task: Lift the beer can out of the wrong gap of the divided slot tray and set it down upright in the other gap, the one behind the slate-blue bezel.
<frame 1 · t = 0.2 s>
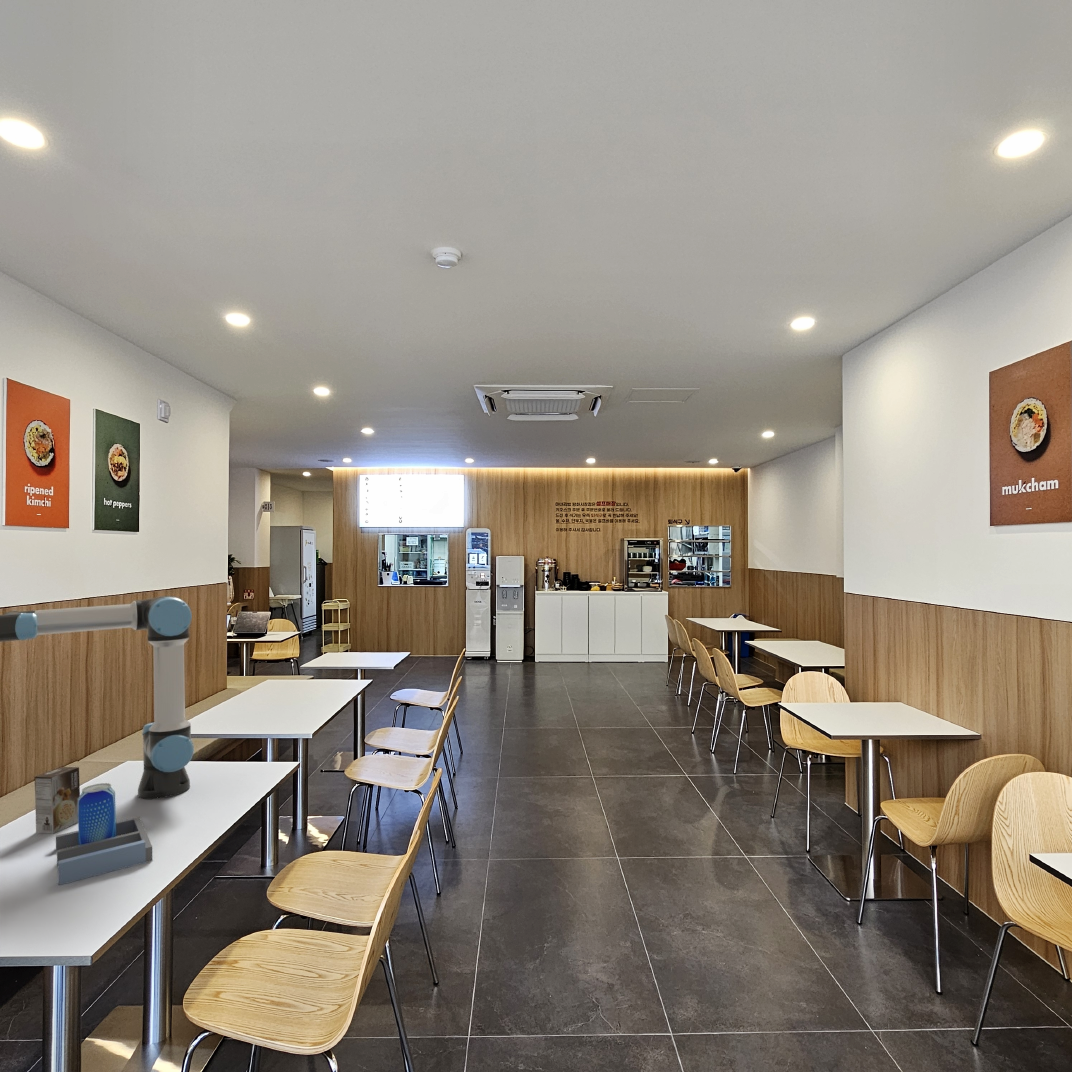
coffee box: (58, 827, 196), on the table
divided slot tray: (99, 854, 176), on the table
beer can: (97, 848, 181), resting in divided slot tray
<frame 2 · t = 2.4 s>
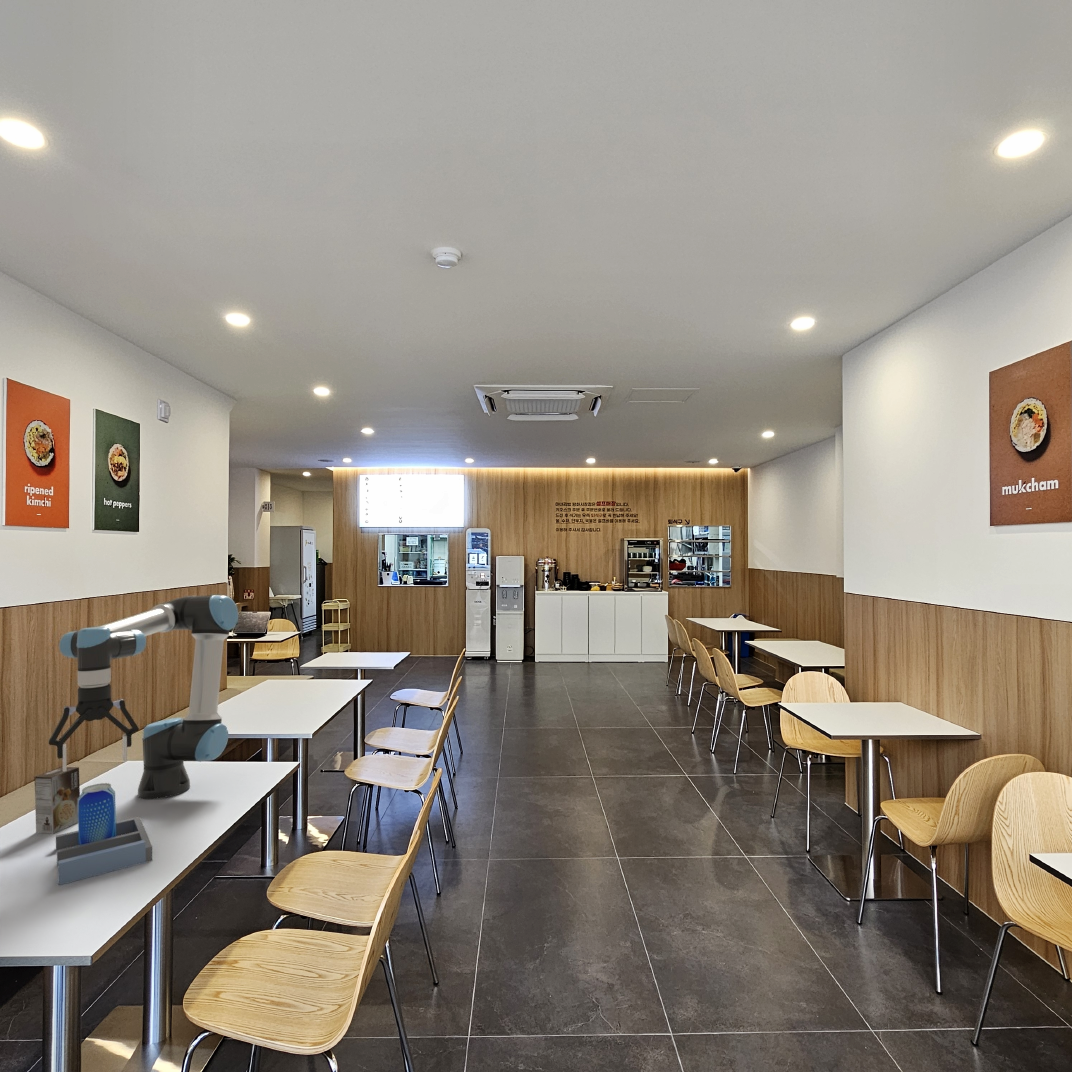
hand: (95, 764, 181), 22 cm above the table, tool pointing down, fingers open, 13 cm apart
nothing on the table moved.
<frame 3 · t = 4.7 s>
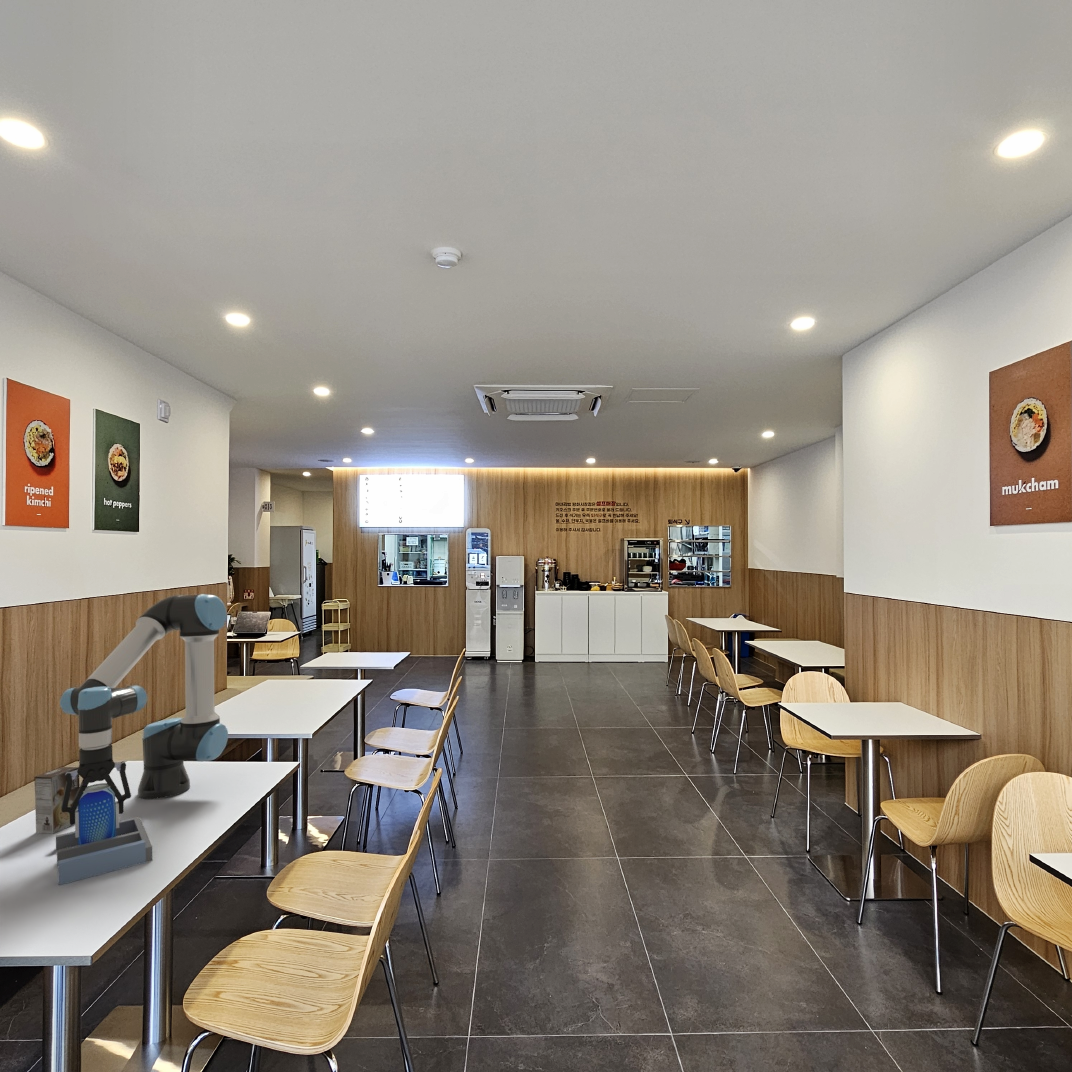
hand: (97, 831, 181), 4 cm above the table, tool pointing down, fingers closed on beer can, 8 cm apart
beer can: (97, 848, 181), resting in divided slot tray, touching gripper
everything else where it was.
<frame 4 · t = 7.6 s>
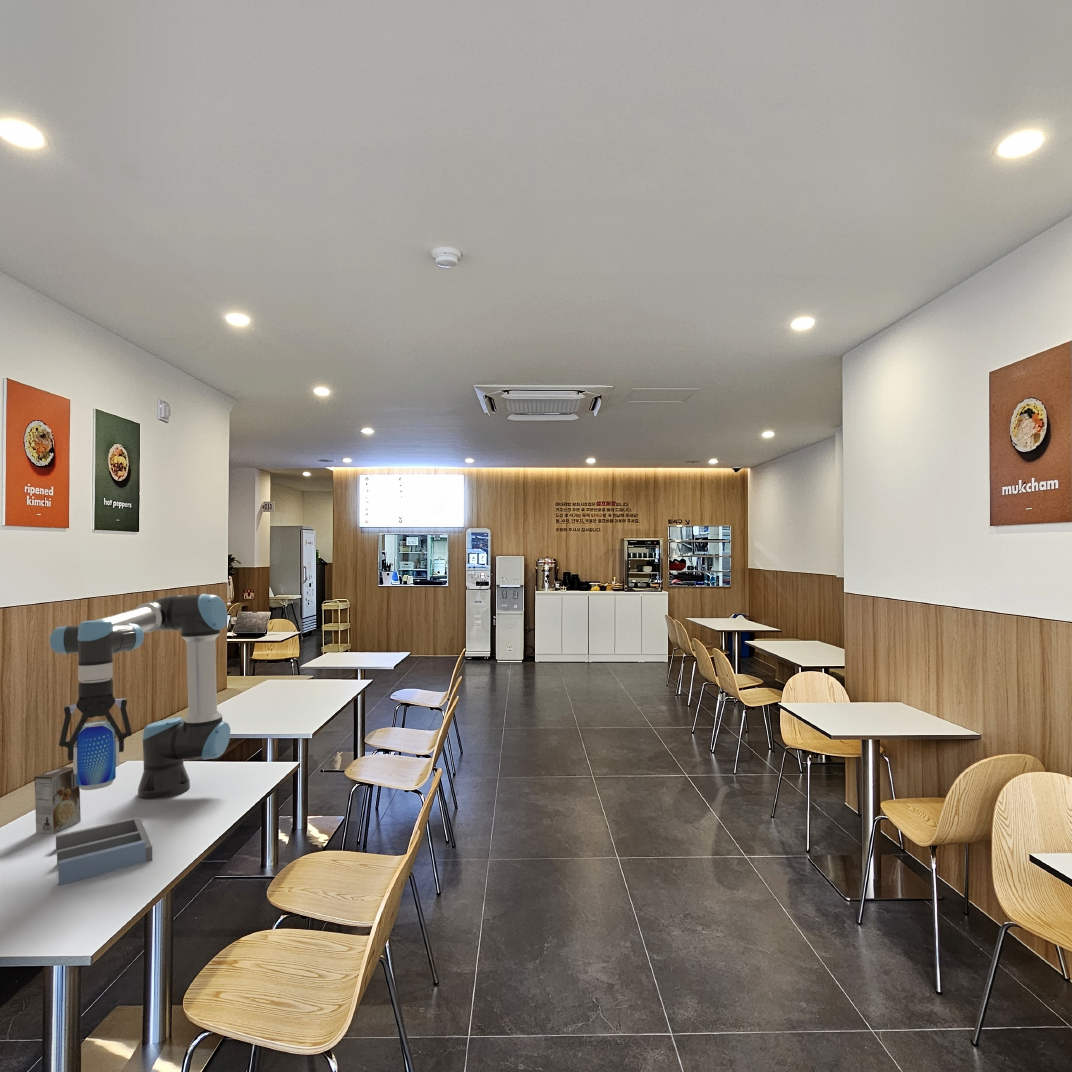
hand: (96, 768, 174), 23 cm above the table, tool pointing down, fingers closed on beer can, 8 cm apart
beer can: (96, 786, 174), point 19 cm above the table, touching gripper
everything else where it was.
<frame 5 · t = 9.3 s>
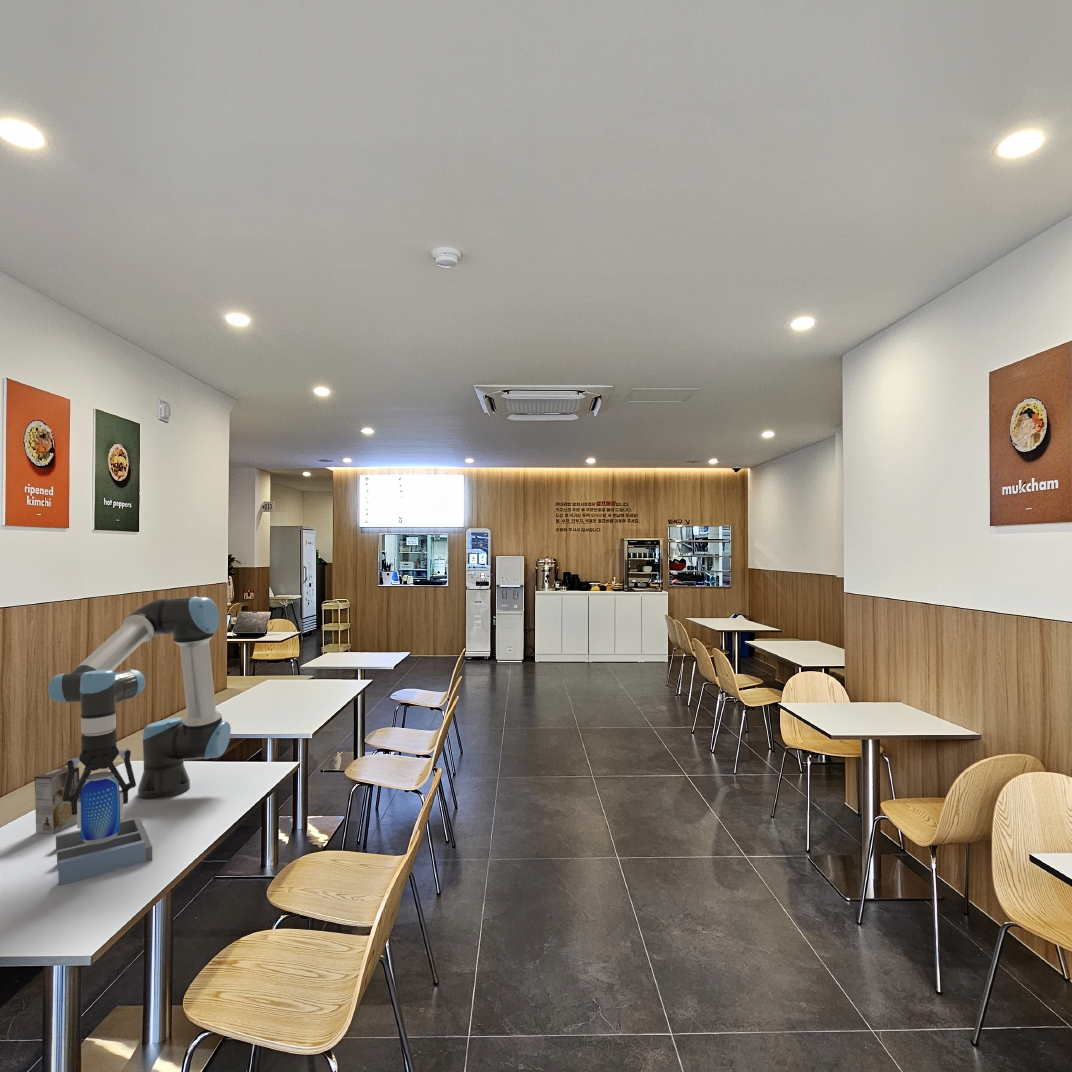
hand: (100, 821, 172), 10 cm above the table, tool pointing down, fingers closed on beer can, 8 cm apart
beer can: (100, 839, 172), point 6 cm above the table, touching gripper
everything else where it was.
when the fingers open (6 cm above the table, at t = 10.8 s): beer can drops 1 cm, resting in divided slot tray.
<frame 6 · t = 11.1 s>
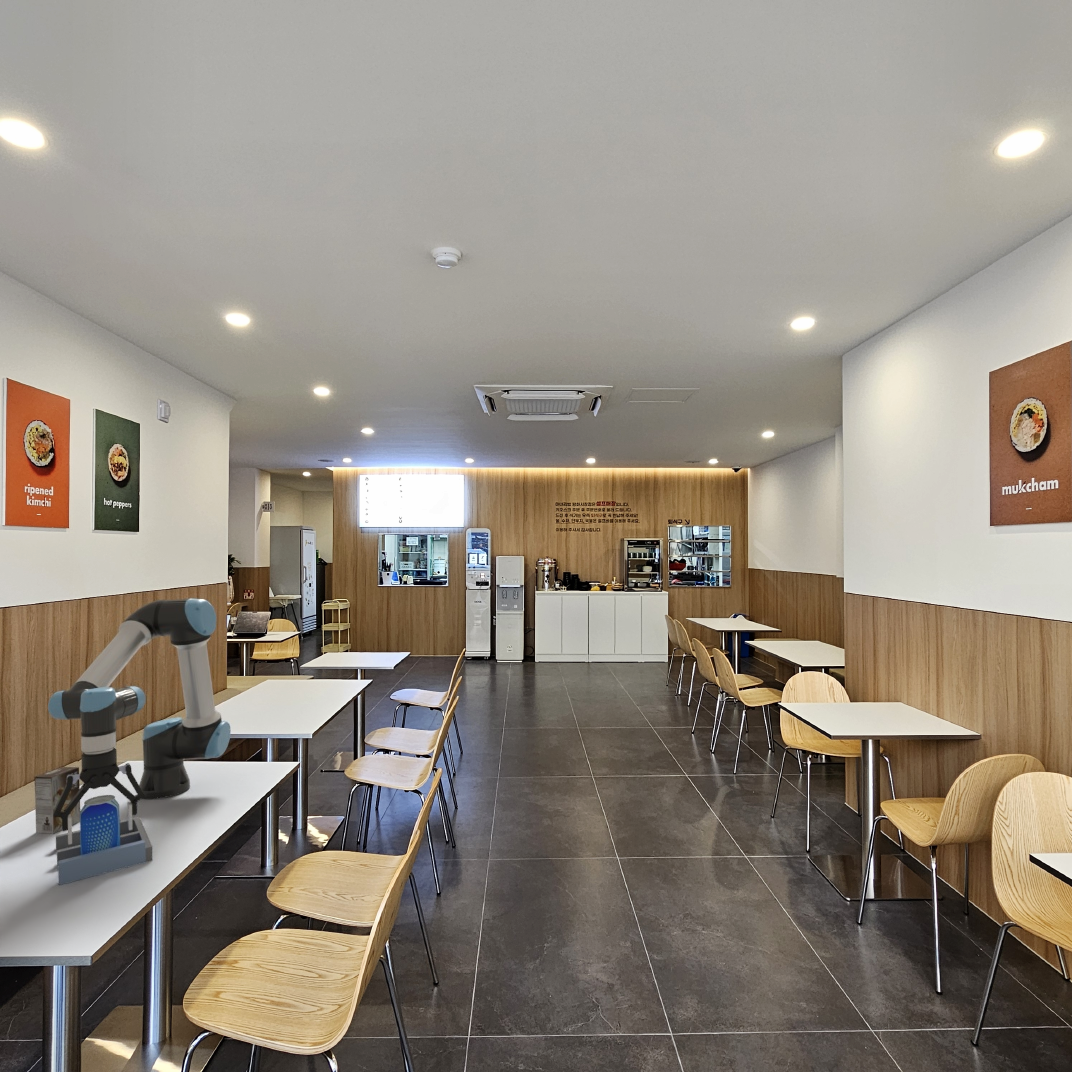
hand: (100, 835, 172), 7 cm above the table, tool pointing down, fingers open, 12 cm apart
beer can: (101, 863, 172), resting in divided slot tray
everything else where it was.
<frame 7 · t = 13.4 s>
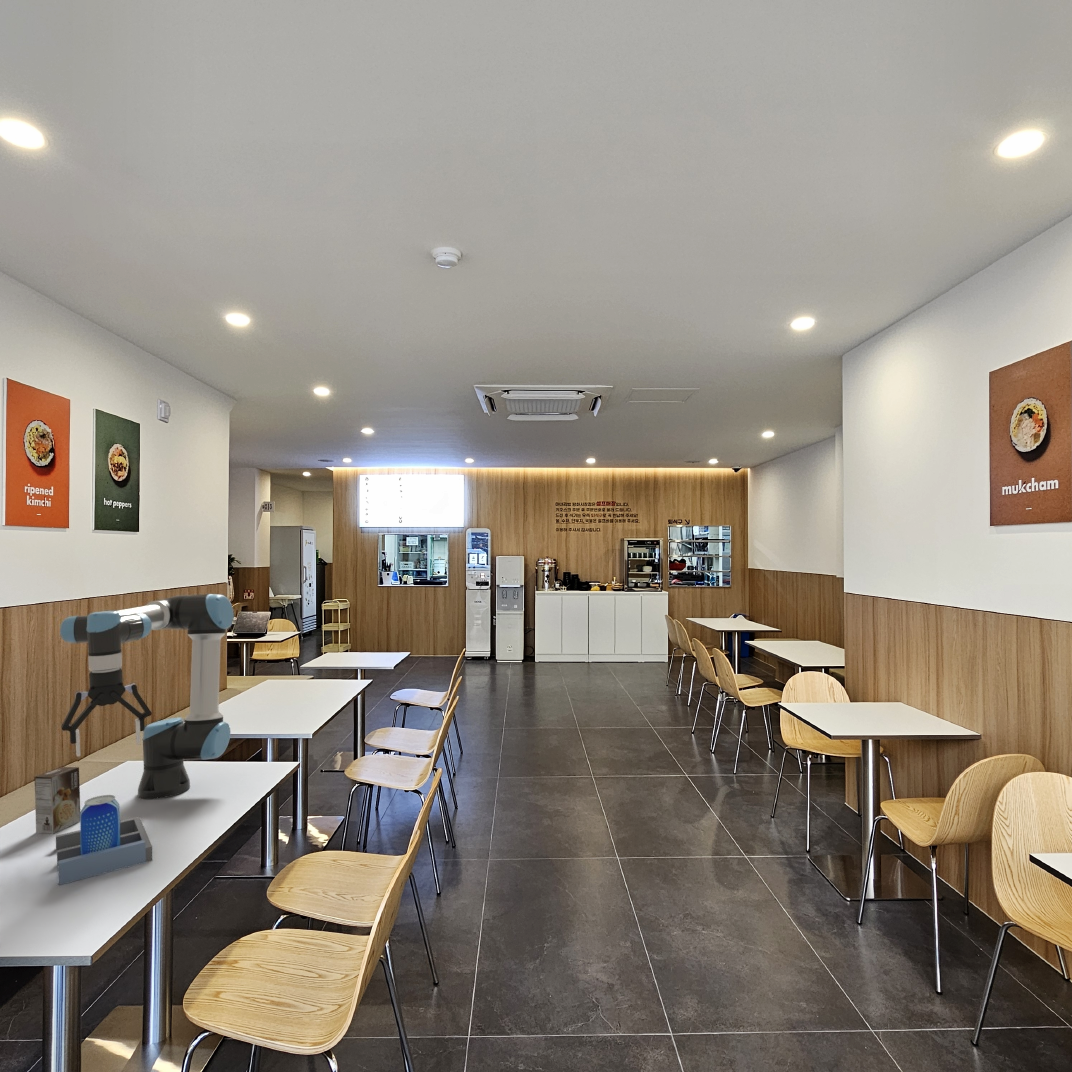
hand: (109, 749, 180), 26 cm above the table, tool pointing down, fingers open, 13 cm apart
nothing on the table moved.
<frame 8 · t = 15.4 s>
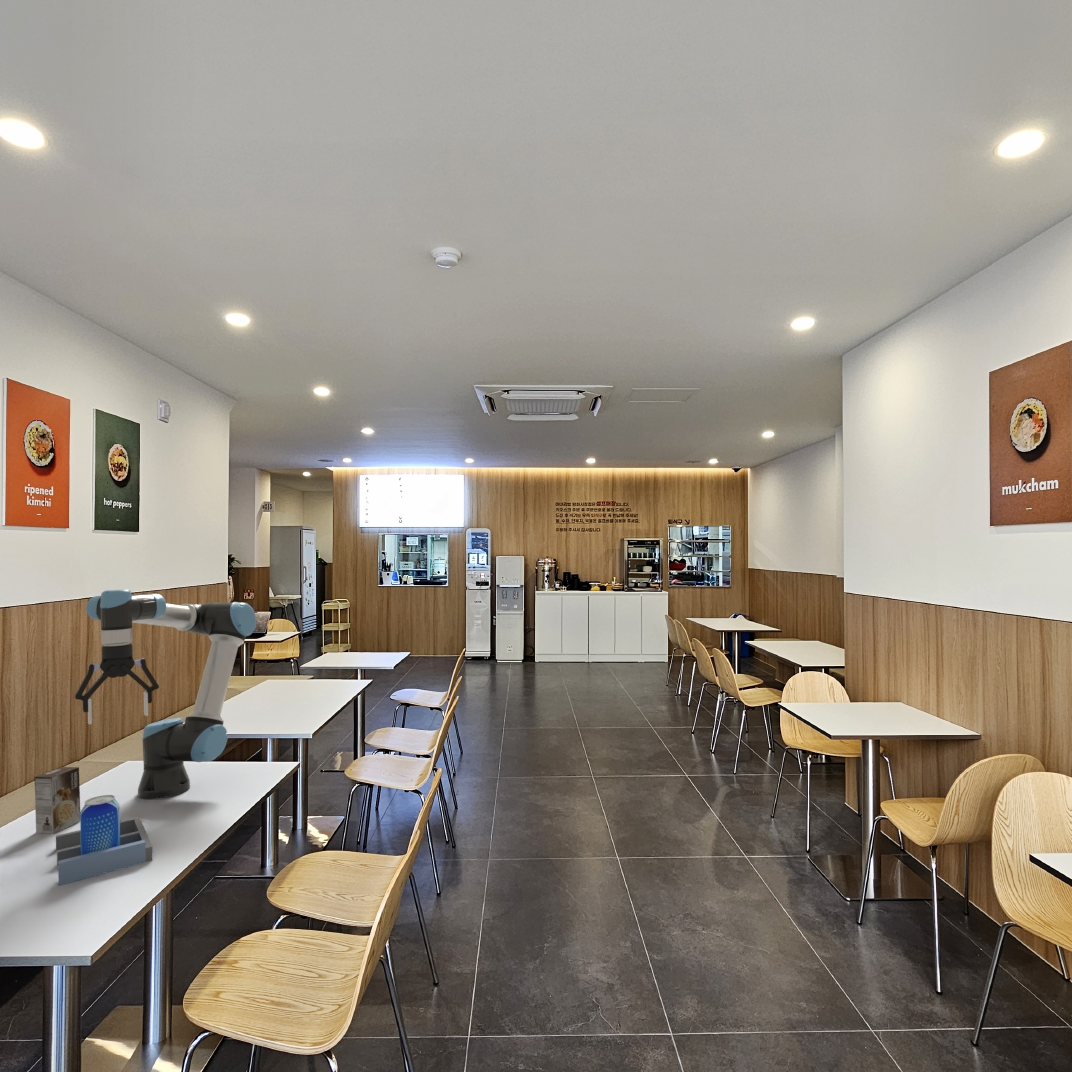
hand: (118, 719, 192), 32 cm above the table, tool pointing down, fingers open, 13 cm apart
nothing on the table moved.
at the end: beer can inside the target area on the divided slot tray (0.1 cm from its centre), point 0.0 cm above the divided slot tray's base; beer can tilted 0°; the gripper is holding nothing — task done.
